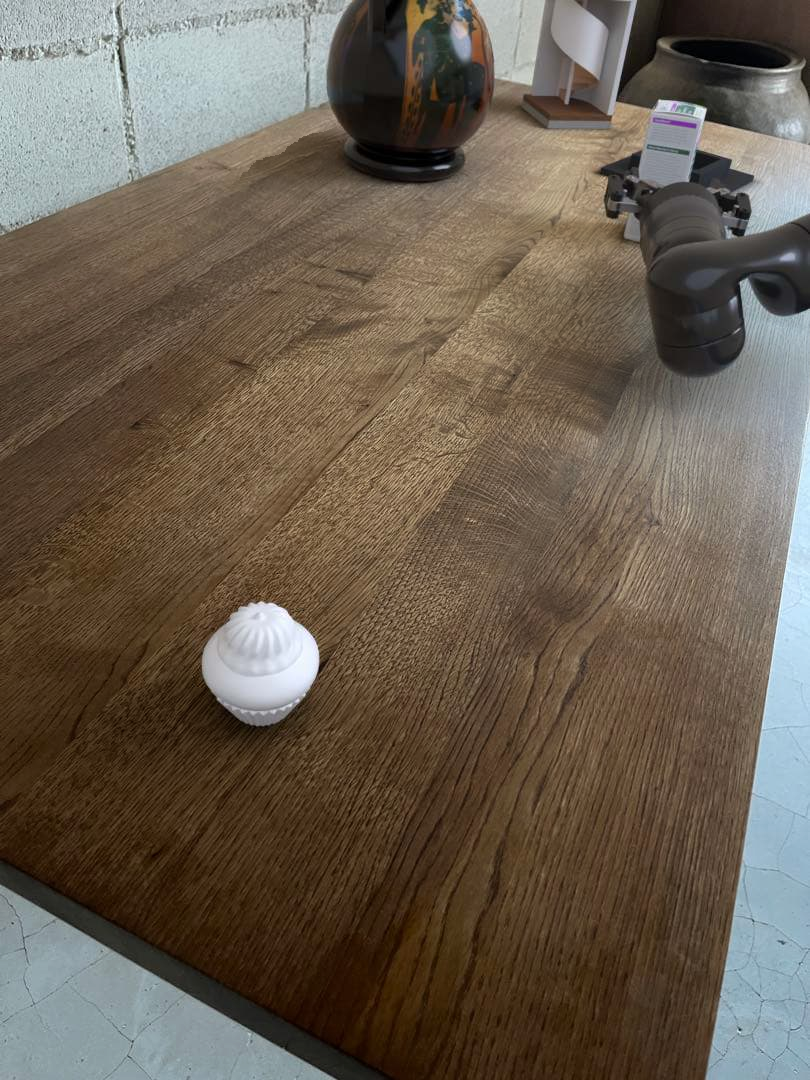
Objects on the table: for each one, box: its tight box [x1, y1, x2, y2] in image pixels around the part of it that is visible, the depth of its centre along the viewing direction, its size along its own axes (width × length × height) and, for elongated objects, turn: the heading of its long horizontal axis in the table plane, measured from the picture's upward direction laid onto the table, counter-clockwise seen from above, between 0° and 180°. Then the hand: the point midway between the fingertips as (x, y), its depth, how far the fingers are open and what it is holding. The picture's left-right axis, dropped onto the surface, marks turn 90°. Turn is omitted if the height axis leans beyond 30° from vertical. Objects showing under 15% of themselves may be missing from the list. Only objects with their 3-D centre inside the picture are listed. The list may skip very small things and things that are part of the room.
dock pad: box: [599, 149, 755, 194], centre depth 128 cm, size 16×16×3 cm
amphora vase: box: [325, 0, 496, 183], centre depth 115 cm, size 22×22×28 cm
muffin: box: [201, 600, 320, 727], centre depth 48 cm, size 6×6×7 cm
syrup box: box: [623, 99, 708, 243], centre depth 106 cm, size 6×6×14 cm
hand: (672, 182), depth 98 cm, fingers open, 8 cm apart
